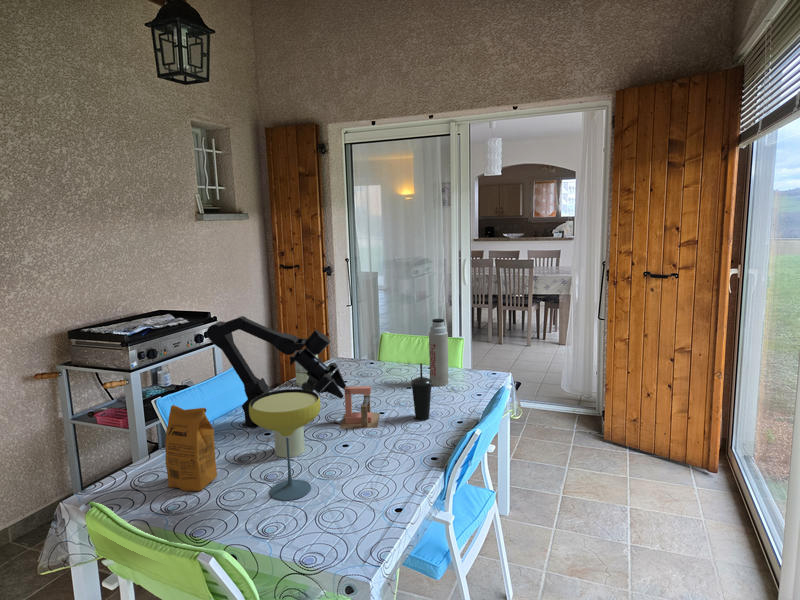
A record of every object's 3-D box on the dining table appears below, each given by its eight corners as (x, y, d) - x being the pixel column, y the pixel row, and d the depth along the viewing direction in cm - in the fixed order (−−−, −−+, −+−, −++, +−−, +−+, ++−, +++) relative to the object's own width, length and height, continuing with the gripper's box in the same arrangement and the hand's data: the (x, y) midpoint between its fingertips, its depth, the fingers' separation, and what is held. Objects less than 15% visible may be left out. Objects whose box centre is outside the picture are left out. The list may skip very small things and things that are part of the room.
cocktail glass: (242, 491, 141) (235, 401, 137) (300, 467, 154) (294, 384, 150) (279, 517, 128) (272, 418, 125) (338, 489, 141) (334, 398, 137)
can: (275, 459, 159) (273, 421, 158) (274, 447, 168) (272, 411, 166) (306, 455, 162) (304, 417, 160) (303, 443, 171) (301, 407, 169)
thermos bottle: (435, 387, 223) (434, 321, 218) (426, 382, 230) (425, 318, 225) (451, 384, 226) (451, 319, 222) (442, 379, 233) (441, 316, 229)
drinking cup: (431, 422, 185) (430, 366, 182) (409, 421, 186) (408, 366, 183) (434, 414, 192) (433, 360, 189) (413, 413, 194) (412, 360, 190)
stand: (339, 430, 180) (338, 407, 179) (344, 414, 194) (343, 393, 193) (377, 429, 180) (376, 406, 179) (380, 414, 194) (379, 393, 193)
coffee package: (187, 471, 153) (180, 398, 150) (223, 477, 149) (216, 402, 146) (161, 488, 144) (153, 410, 141) (198, 495, 140) (190, 415, 137)
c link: (345, 423, 185) (343, 390, 183) (347, 417, 190) (345, 385, 188) (371, 422, 184) (370, 389, 183) (372, 417, 189) (371, 385, 188)
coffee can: (299, 379, 239) (298, 348, 237) (322, 379, 238) (320, 348, 236) (293, 386, 229) (291, 354, 227) (316, 386, 228) (314, 354, 226)
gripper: (301, 372, 195) (333, 400, 196) (289, 388, 176) (324, 419, 177) (321, 350, 193) (353, 378, 194) (311, 364, 175) (346, 395, 176)
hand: (344, 393), depth 186 cm, fingers open, 9 cm apart
